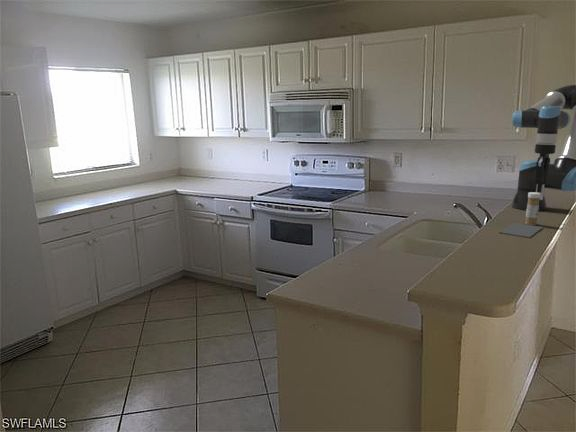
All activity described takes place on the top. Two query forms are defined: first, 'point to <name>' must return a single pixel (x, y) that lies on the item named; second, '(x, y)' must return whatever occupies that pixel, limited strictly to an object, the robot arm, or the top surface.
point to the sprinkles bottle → (532, 208)
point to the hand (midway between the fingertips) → (538, 199)
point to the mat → (521, 230)
